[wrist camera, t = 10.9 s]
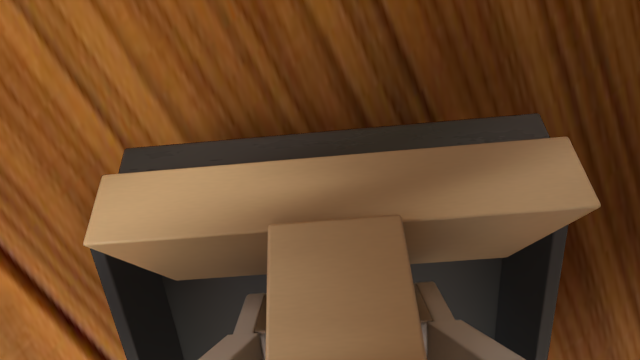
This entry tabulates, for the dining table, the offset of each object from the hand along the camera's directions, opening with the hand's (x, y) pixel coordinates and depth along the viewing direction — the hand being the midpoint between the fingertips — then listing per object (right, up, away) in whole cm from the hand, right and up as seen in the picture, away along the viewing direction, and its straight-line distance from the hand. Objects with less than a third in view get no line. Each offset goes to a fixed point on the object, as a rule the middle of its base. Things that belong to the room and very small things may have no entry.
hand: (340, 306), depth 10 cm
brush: (0, +4, 0) cm, 4 cm away
